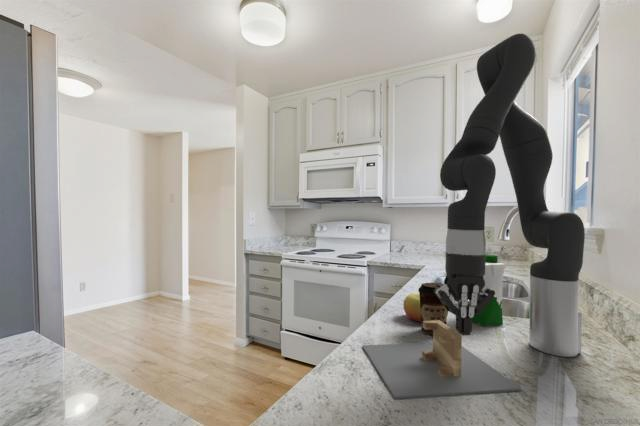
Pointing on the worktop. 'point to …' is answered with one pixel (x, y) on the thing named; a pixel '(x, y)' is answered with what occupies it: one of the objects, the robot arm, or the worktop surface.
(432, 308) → the coffee cup
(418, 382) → the mat
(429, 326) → the wooden bench
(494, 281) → the milk carton
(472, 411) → the worktop surface
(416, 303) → the apple
